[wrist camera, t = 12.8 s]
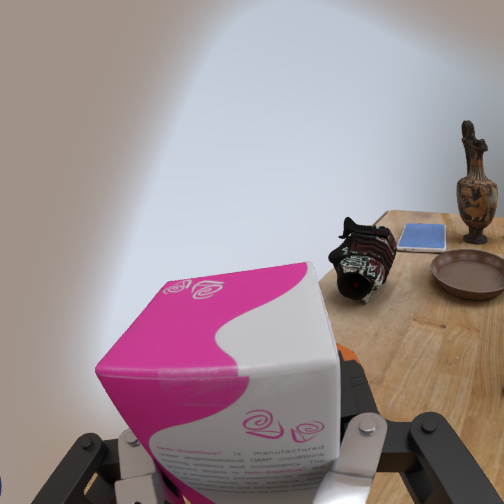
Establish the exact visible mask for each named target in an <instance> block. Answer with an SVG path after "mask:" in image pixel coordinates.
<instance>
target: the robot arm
mask: <svg viewBox="0 0 504 504" xmlns="http://www.w3.org/2000/svg"><path fill="white" fill-rule="evenodd" d="M337 352H338V356H339V360H340V385H341V398H340V451H339V457H338V458H337V459H335V461H334V463H333V465H332V468H331V469H330V471H328V472H327V473H326V475H325V477H324V479H323V481H322V483H321V485H320V487H319V489H318V491H317V494H316V496H315V498H314V500H313V502H312V504H365V503H366V500H367V497H368V494H369V491H370V488H371V485H372V482H373V479H374V476H375V473H376V472H399V474H400V476H401V478H402V480H403V482H404V484H405V486H406V488H407V490H408V492H409V494H410V496H411V498H412V500H413V502H414V504H504V503H503V501H502V499H501V498H500V496H499V495H498V493H497V492H496V490H495V489H494V487H493V486H492V484H491V483H490V481H489V480H488V478H487V477H486V475H485V474H484V472H483V471H482V469H481V468H480V466H479V465H478V464H477V462H476V461H475V459H474V458H473V456H472V455H471V454H470V452H469V451H468V449H467V448H466V446H465V445H464V444H463V442H462V441H461V440H460V438H459V437H458V435H457V434H456V433H455V431H454V430H453V429H452V427H451V426H450V424H449V423H448V422H447V420H446V419H445V418H444V417H443V416H442V415H440V414H438V413H435V412H425V413H422V414H420V415H418V416H417V417H415V418H414V420H413V421H412V422H392V421H389V420H387V419H385V418H383V417H382V416H381V415H380V414H379V412H378V410H377V407H376V404H375V401H374V398H373V395H372V393H371V390H370V387H369V384H368V381H367V379H366V377H365V373H364V370H363V368H362V366H361V365H360V364H359V363H358V362H357V361H356V360H354V359H353V360H348V361H344V359H343V356H342V353H341V350H337ZM94 473H97V474H98V476H97V477H96V479H95V481H94V482H93V484H92V485H91V487H90V489H89V490H88V492H87V493H86V495H84V489H85V487H86V486H87V484H88V483H89V481H90V480H91V478H92V476H93V475H94ZM31 504H186V503H185V501H184V499H183V496H182V492H181V490H180V489H179V488H178V487H177V486H176V485H174V484H173V483H172V482H171V481H170V480H169V479H168V477H167V476H166V475H165V474H164V473H163V472H162V471H161V469H160V467H159V465H158V463H157V462H156V461H155V460H154V458H152V457H151V456H150V455H149V454H148V453H147V451H146V450H145V449H144V447H143V446H142V444H141V443H140V442H139V440H138V439H137V438H136V437H135V435H134V434H133V432H132V431H131V429H130V428H129V429H127V430H125V431H124V432H123V433H122V434H121V435H120V436H119V439H112V440H104V441H103V440H102V439H101V438H100V437H99V436H98V435H97V434H94V433H87V434H84V435H82V436H80V437H79V438H78V439H77V441H76V442H75V443H74V444H73V446H72V447H71V449H70V450H69V451H68V453H67V454H66V455H65V457H64V458H63V459H62V461H61V462H60V464H59V465H58V467H57V468H56V469H55V471H54V472H53V473H52V475H51V476H50V477H49V479H48V480H47V482H46V483H45V485H44V486H43V487H42V489H41V490H40V492H39V493H38V494H37V496H36V497H35V499H34V501H33V502H32V503H31Z"/></svg>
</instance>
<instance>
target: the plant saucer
mask: <svg viewBox="0 0 504 504" xmlns="http://www.w3.org/2000/svg"><path fill="white" fill-rule="evenodd" d="M431 271H432V273H433V275H434V277H435V278H436V280H437V281H438V283H439V284H440V285H441V286H442V287H443V288H444V289H445V290H446V291H448V292H449V293H451V294H453V295H455V296H458V297H461V298H465V299H471V300H484V299H489V298H492V297H495V296H497V295H499V294H500V293H502V292H503V291H504V259H502V258H501V257H499V256H497V255H494V254H492V253H489V252H485V251H480V250H473V249H458V250H451V251H447V252H444V253H442V254H440V255H438V256H436V257H435V258H434V259H433V260H432V262H431Z"/></svg>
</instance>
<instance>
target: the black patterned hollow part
mask: <svg viewBox="0 0 504 504" xmlns="http://www.w3.org/2000/svg"><path fill="white" fill-rule="evenodd" d="M352 232H353V233H352ZM350 234H351V236H349V235H350ZM339 238H341V239H345V238H346V239H345V241H344V242H343V243H342V244H341V245H340V246H339V247H338V248H336V249H335V250H333V251H332V252H331V253H330V254H329V256H328V259H329V261H330V262H331V263H333V265H334V268H335V270H336V272H337V285H338V289H339V291H340V293H341V294H342V295H343V296H344V297H347V298H350V299H353V300H360V301H361V302H365V304H366V303H367V302H368V300H369V299H370V297H371V296H372V295H373V293H375V292H376V291H377V290H379V289H380V287H381V285H382V284H384V283H385V282H386V279H387V276H388V274H389V270H390V268H391V267H392V263H393V260H394V259H395V255H396V251H397V247H396V242H395V239H394V237H393V235H392V233H391V231H390V230H389V229H388V228H385V227H384V226H374V227H373V228H372V226H365V225H357V224H356V223H355V222H354V221H353V220H352V219H351V218H349V217H346V218H345V220H344V231H343V235H342V236H339Z"/></svg>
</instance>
